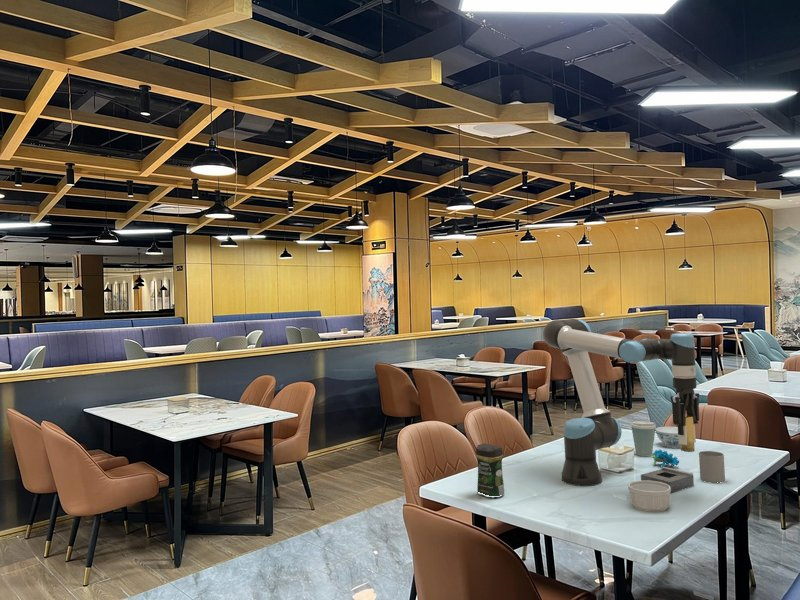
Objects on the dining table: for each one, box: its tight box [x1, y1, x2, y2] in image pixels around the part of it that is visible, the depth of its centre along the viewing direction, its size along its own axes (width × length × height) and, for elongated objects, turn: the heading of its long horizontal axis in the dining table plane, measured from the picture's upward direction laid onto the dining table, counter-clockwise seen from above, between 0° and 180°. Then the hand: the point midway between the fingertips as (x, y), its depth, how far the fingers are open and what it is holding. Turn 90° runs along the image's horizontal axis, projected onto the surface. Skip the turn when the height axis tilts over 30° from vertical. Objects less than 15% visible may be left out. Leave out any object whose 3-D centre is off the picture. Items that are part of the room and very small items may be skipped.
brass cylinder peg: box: [680, 414, 696, 453], centre depth 206 cm, size 4×4×12 cm
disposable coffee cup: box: [630, 420, 657, 458], centre depth 261 cm, size 11×11×15 cm
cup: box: [698, 450, 726, 484], centre depth 221 cm, size 8×8×10 cm
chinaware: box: [655, 426, 681, 448], centre depth 275 cm, size 15×15×8 cm
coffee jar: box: [475, 443, 505, 496], centre depth 214 cm, size 10×8×19 cm
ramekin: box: [627, 480, 671, 513], centre depth 195 cm, size 13×13×7 cm
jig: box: [640, 466, 695, 494], centre depth 216 cm, size 14×12×5 cm
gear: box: [652, 449, 680, 468], centre depth 241 cm, size 11×6×10 cm
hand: (687, 442), depth 205 cm, fingers closed on brass cylinder peg, 4 cm apart
